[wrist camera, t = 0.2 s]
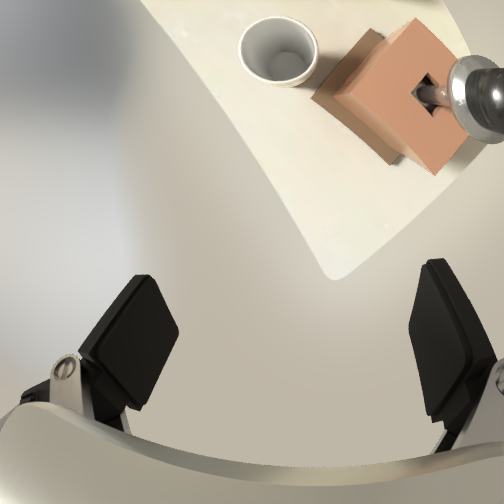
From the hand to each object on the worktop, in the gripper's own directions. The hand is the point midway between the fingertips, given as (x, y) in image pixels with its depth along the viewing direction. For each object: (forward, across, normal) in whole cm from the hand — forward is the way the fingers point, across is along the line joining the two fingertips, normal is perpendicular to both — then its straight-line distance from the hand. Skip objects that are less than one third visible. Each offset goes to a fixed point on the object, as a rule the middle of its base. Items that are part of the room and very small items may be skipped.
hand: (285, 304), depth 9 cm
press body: (+32, -12, -6) cm, 34 cm away
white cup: (+32, 0, -11) cm, 34 cm away
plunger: (+18, -12, -7) cm, 22 cm away
